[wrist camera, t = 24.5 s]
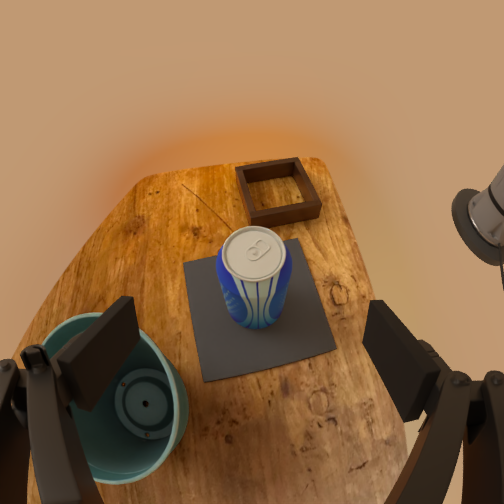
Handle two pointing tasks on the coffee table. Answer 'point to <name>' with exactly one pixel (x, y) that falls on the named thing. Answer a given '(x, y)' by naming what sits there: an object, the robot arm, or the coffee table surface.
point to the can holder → (282, 213)
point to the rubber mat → (255, 340)
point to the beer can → (254, 276)
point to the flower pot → (128, 410)
